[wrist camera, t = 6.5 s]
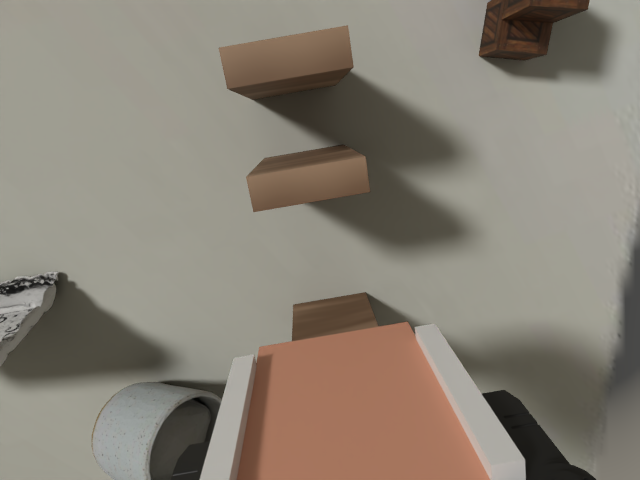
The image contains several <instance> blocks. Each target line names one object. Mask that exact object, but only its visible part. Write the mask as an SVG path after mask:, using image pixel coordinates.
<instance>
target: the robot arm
mask: <svg viewBox="0 0 640 480" xmlns="http://www.w3.org/2000/svg"><path fill="white" fill-rule="evenodd" d="M415 335H416V340H417V342H418V344H419V346H420V347H421V349H422V351H423V353H424V355H425V357H426V359H427V361H428V363H429V364H430V366H431V368H432V370H433V372H434V374H435V376H436V378H437V380H438V382H439V383H440V385H441V387H442V389H443V391H444V393H445V395H446V397H447V399H448V400H449V402H450V404H451V406H452V408H453V410H454V412H455V414H456V416H457V417H458V419H459V421H460V423H461V425H462V427H463V429H464V431H465V433H466V435H467V436H468V438H469V440H470V442H471V444H472V446H473V448H474V450H475V452H476V453H477V455H478V457H479V459H480V461H481V463H482V465H483V467H484V469H485V470H486V472H487V474H488V476H489V478H490V480H596V479H595V478H594V477H593V476H591V475H590V474H589V473H588V472H586V471H585V470H583V469H580V468H578V467H576V466H574V465H570V464H569V462H568V461H567V460H566V459H565V457H564V456H563V455H562V454H561V452H560V451H559V450H558V448H557V447H556V446H555V445H554V443H553V442H552V441H551V439H550V438H549V437H548V436H547V434H546V433H545V432H544V431H543V429H542V428H541V427H540V425H538V424H537V422H536V420H535V419H534V418H533V417H532V415H531V414H529V411H528V410H527V409H526V408H525V406H524V405H523V404H522V402H521V401H520V400H519V399H518V398H516V397H514V396H513V395H511V394H510V393H508V392H506V391H505V390H501V391H495V392H489V393H483V394H481V392H480V391H479V389H478V388H477V386H476V385H475V383H474V382H473V380H472V379H471V377H470V376H469V374H468V373H467V371H466V370H465V368H464V367H463V365H462V364H461V362H460V361H459V359H458V358H457V356H456V355H455V353H454V352H453V350H452V349H451V347H450V346H449V344H448V343H447V341H446V339H445V338H444V336H443V335H442V333H441V332H440V330H439V329H438V327H437V326H436V324H429V325H423V326H417V327H415ZM256 367H257V365H256V361H255V357H254V355H248V356H242V357H236V358H234V359H233V362H232V366H231V369H230V373H229V377H228V380H227V384H226V387H225V391H224V394H223V398H222V401H221V405H220V409H219V412H218V416H217V419H216V423H215V426H214V430H213V434H212V437H211V441H209V442H203V443H197V444H191V445H189V446H188V447H187V448H186V450H185V451H184V452H183V453H182V454H181V456H180V457H179V458H178V460H177V463H176V466H175V468H174V471H173V474H172V475H173V476H172V477H171V479H170V480H237V475H238V469H239V463H240V458H241V452H242V446H243V441H244V435H245V429H246V424H247V418H248V413H249V407H250V401H251V396H252V390H253V384H254V379H255V373H256Z"/></svg>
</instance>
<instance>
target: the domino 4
mask: <svg viewBox="0 0 640 480" xmlns="http://www.w3.org/2000/svg"><path fill="white" fill-rule="evenodd" d="M256 365H257V367H256V373H255V379H254V384H253V390H252V396H251V401H250V407H249V413H248V418H247V424H246V429H245V435H244V441H243V446H242V452H241V458H240V463H239V469H238V475H237V480H490V478H489V476H488V474H487V472H486V470H485V469H484V467H483V465H482V463H481V461H480V459H479V457H478V455H477V453H476V452H475V450H474V448H473V446H472V444H471V442H470V440H469V438H468V436H467V435H466V433H465V431H464V429H463V427H462V425H461V423H460V421H459V419H458V417H457V416H456V414H455V412H454V410H453V408H452V406H451V404H450V402H449V400H448V399H447V397H446V395H445V393H444V391H443V389H442V387H441V385H440V383H439V382H438V380H437V378H436V376H435V374H434V372H433V370H432V368H431V366H430V364H429V363H428V361H427V359H426V357H425V355H424V353H423V351H422V349H421V347H420V346H419V344H418V342H417V340H416V336H415V334H414V333H413V331H412V329H411V327H410V325H409V323H408V322H403V323H397V324H391V325H385V326H380V327H374V328H368V329H362V330H356V331H350V332H344V333H338V334H333V335H327V336H321V337H315V338H309V339H303V340H297V341H292V342H286V343H280V344H274V345H268V346H262V347H259V352H258V358H257V363H256Z"/></svg>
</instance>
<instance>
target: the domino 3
mask: <svg viewBox="0 0 640 480" xmlns="http://www.w3.org/2000/svg"><path fill="white" fill-rule="evenodd" d="M374 327H378V324H377V321H376V319H375V316H374V313H373V311H372V308H371V305H370V303H369V300H368V297H367V295H366V292H365V293H359V294H353V295H347V296H341V297H335V298H330V299H324V300H318V301H312V302H306V303H300V304H295V305H293V329H292V341H297V340H303V339H309V338H315V337H321V336H327V335H333V334H338V333H344V332H350V331H356V330H362V329H368V328H374Z"/></svg>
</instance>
